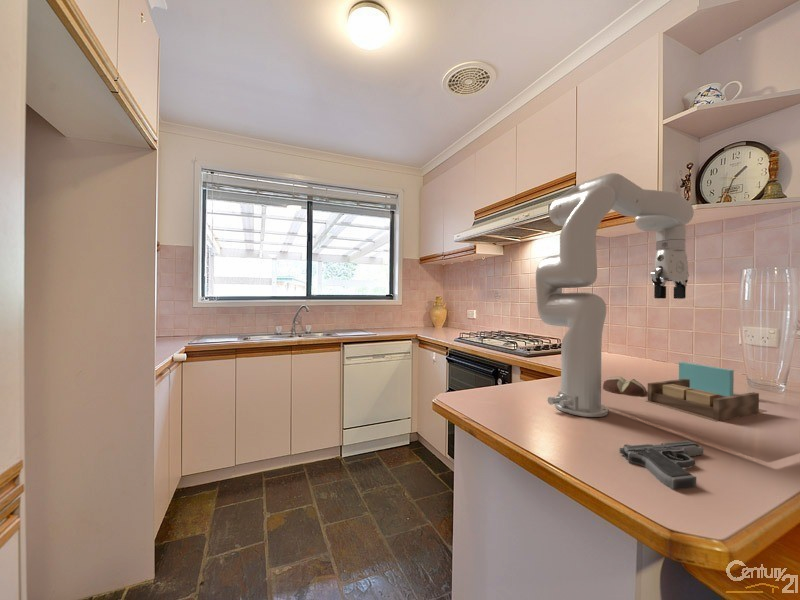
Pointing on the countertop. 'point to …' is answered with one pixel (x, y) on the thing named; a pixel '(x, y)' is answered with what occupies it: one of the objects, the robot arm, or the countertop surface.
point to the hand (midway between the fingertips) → (669, 298)
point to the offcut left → (675, 391)
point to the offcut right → (701, 397)
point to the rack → (721, 406)
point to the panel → (708, 378)
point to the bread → (624, 386)
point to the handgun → (666, 461)
